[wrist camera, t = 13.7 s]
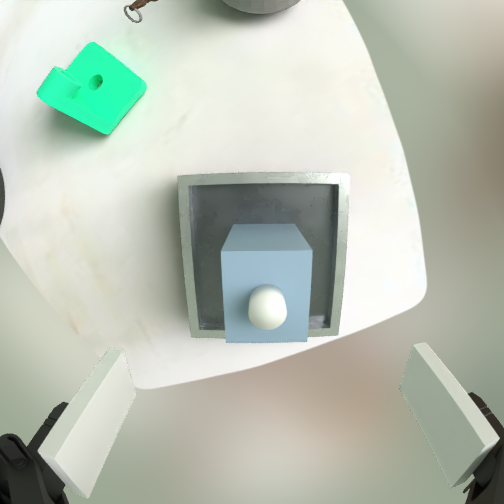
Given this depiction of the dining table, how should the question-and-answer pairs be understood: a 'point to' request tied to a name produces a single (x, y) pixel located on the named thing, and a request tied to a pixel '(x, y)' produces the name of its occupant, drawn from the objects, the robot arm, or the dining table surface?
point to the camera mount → (93, 89)
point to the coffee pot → (257, 3)
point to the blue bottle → (266, 283)
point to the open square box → (262, 212)
